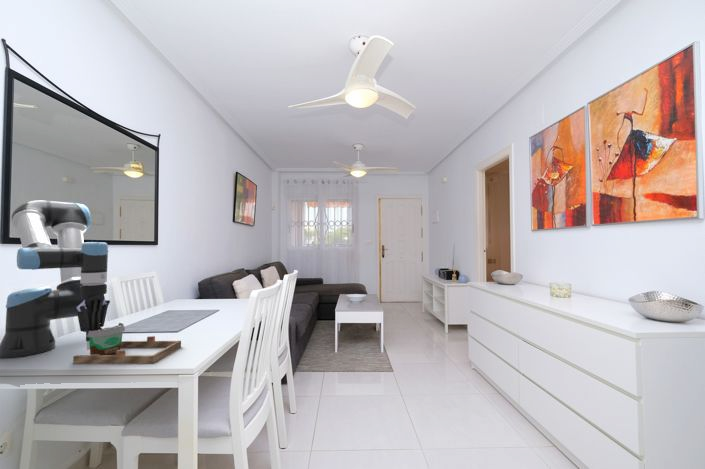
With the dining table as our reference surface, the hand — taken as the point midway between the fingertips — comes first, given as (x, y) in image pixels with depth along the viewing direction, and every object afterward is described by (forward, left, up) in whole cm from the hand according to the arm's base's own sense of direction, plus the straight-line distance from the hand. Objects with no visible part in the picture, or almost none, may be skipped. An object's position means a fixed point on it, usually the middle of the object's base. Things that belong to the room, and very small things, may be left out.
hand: (91, 349), depth 112 cm
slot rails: (+13, +5, -2) cm, 14 cm away
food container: (+6, +3, -2) cm, 7 cm away
